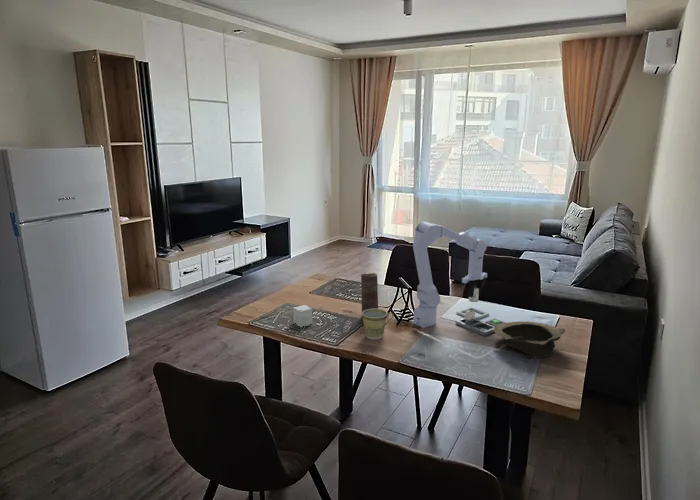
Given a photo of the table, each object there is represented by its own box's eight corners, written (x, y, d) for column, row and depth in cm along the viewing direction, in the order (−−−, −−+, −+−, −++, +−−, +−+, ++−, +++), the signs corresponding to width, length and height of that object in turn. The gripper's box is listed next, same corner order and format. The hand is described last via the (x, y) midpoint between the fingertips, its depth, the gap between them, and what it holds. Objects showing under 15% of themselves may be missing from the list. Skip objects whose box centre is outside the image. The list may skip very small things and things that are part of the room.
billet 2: (470, 327, 189) (470, 313, 188) (462, 324, 192) (463, 311, 191) (476, 325, 192) (477, 311, 190) (468, 322, 195) (469, 308, 193)
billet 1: (474, 302, 198) (474, 289, 197) (466, 300, 202) (467, 287, 200) (480, 300, 201) (480, 287, 199) (472, 298, 204) (473, 285, 202)
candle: (358, 318, 203) (358, 275, 198) (364, 312, 209) (364, 270, 204) (375, 320, 200) (375, 276, 195) (380, 314, 207) (380, 272, 202)
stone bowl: (558, 369, 156) (558, 344, 154) (485, 357, 170) (484, 333, 168) (568, 341, 177) (568, 318, 175) (502, 332, 190) (501, 311, 188)
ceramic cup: (366, 342, 178) (366, 319, 176) (359, 332, 188) (359, 309, 185) (397, 338, 182) (398, 315, 179) (388, 329, 191) (389, 306, 189)
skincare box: (305, 320, 202) (305, 304, 200) (312, 324, 197) (312, 308, 195) (293, 323, 198) (292, 307, 196) (300, 327, 193) (299, 311, 191)
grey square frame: (474, 322, 196) (474, 318, 196) (456, 315, 204) (456, 311, 204) (488, 317, 202) (489, 313, 201) (470, 310, 210) (471, 306, 209)
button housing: (497, 330, 188) (497, 326, 188) (485, 326, 193) (485, 321, 192) (506, 327, 192) (506, 322, 191) (494, 322, 196) (494, 318, 196)
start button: (496, 328, 190) (496, 323, 190) (490, 326, 193) (490, 320, 192) (500, 326, 192) (501, 321, 191) (494, 324, 194) (495, 319, 194)
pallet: (484, 338, 181) (484, 332, 181) (455, 326, 193) (455, 320, 193) (497, 333, 186) (497, 327, 185) (468, 321, 198) (468, 316, 197)
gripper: (471, 271, 190) (470, 301, 193) (493, 265, 198) (491, 294, 202) (458, 267, 196) (457, 297, 199) (480, 261, 204) (478, 290, 207)
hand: (473, 295), depth 201 cm, fingers closed on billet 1, 4 cm apart
